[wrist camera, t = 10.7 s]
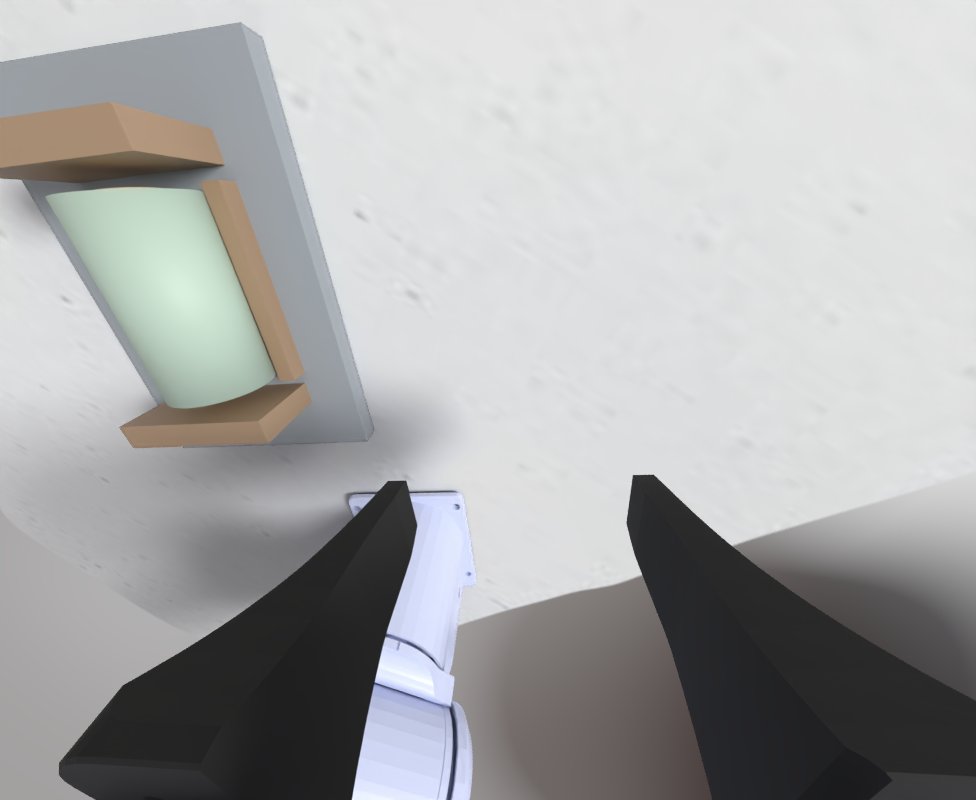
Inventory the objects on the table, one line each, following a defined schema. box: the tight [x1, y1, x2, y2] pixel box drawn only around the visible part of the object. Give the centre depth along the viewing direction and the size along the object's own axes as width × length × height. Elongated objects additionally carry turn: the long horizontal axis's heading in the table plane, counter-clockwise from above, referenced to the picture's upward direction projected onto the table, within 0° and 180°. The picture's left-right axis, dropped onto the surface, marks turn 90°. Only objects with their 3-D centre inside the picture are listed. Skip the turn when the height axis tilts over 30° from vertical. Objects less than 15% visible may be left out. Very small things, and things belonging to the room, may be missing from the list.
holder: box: [0, 22, 374, 448], centre depth 16 cm, size 18×12×5 cm, turn 5°
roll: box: [45, 187, 276, 408], centre depth 15 cm, size 8×4×4 cm, turn 5°
